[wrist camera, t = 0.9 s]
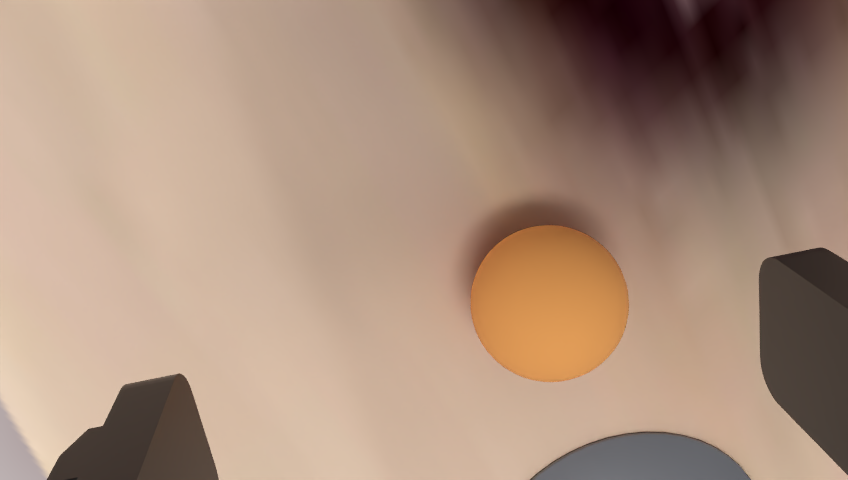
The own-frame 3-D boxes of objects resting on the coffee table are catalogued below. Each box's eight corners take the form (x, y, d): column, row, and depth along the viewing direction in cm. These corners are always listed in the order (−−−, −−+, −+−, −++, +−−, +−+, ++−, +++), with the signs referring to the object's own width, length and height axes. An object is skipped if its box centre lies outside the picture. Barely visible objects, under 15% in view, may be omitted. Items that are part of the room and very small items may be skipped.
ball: (576, 183, 29) (630, 232, 24) (614, 307, 31) (671, 376, 26) (438, 237, 30) (463, 297, 24) (485, 357, 32) (517, 435, 26)
